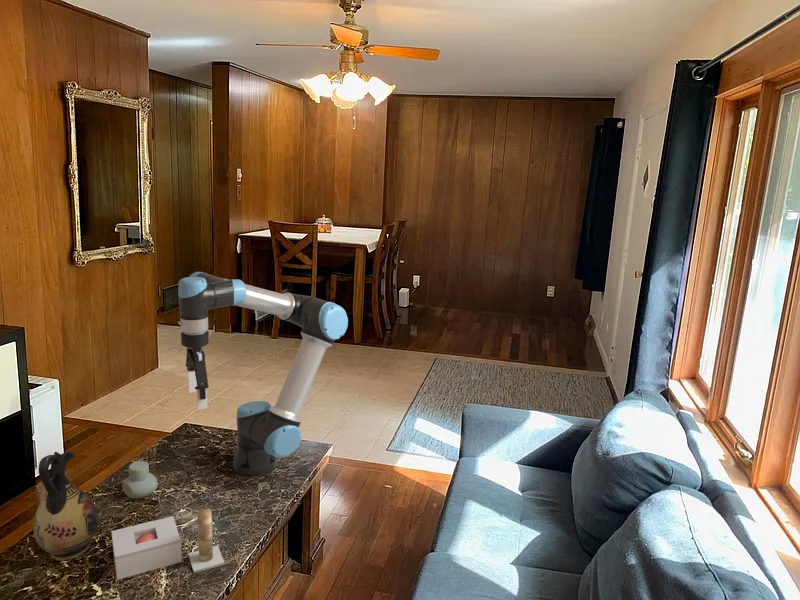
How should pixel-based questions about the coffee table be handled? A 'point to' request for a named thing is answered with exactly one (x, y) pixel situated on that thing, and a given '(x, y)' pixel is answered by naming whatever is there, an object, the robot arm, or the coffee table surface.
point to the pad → (201, 566)
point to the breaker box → (146, 547)
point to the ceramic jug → (63, 512)
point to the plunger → (145, 538)
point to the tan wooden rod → (205, 535)
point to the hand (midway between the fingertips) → (197, 400)
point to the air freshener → (139, 481)
